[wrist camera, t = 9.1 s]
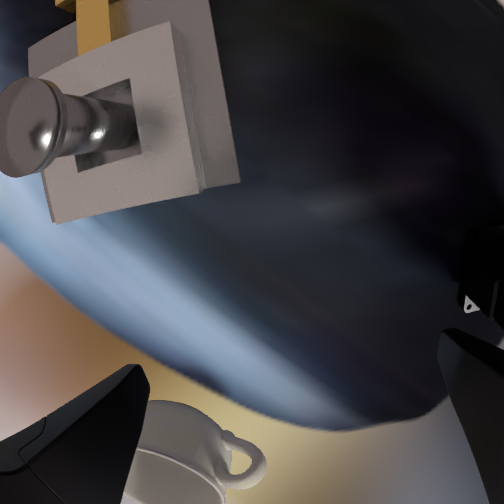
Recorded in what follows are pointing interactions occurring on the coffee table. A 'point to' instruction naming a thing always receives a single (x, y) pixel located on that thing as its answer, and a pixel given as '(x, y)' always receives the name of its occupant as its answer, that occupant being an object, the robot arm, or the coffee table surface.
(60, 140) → the pin
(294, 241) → the coffee table surface
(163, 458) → the teacup
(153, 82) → the knob backplate
